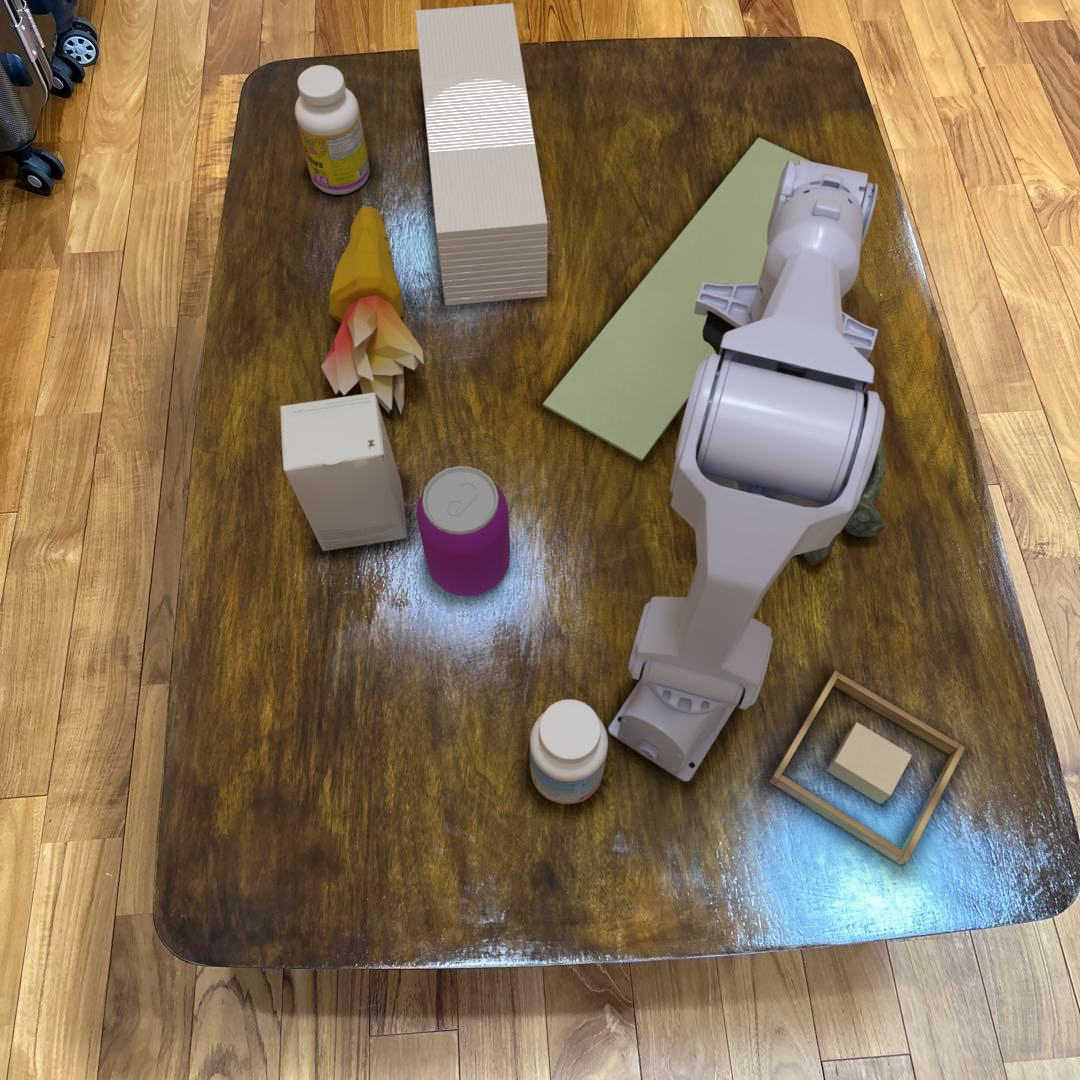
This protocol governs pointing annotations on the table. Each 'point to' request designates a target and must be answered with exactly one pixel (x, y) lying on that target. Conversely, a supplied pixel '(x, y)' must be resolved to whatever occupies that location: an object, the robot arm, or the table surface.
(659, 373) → the runner
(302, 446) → the cosmetic box
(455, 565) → the beverage can
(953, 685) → the table surface
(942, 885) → the table surface
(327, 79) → the supplement bottle
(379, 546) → the table surface
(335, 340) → the torch
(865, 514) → the dark green rounded piece
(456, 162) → the stack of papers
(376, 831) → the table surface
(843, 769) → the block
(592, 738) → the pill bottle
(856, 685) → the wooden frame
